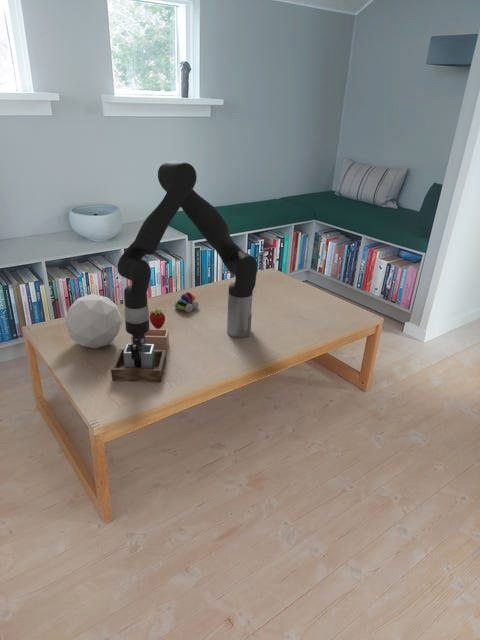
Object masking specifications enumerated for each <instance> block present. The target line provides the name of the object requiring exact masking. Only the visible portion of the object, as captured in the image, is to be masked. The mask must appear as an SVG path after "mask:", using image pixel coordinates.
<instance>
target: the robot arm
mask: <svg viewBox="0 0 480 640" xmlns="http://www.w3.org/2000/svg"><path fill="white" fill-rule="evenodd" d="M197 176H198V175H197V171H196V169H195V167H194V166H193V165H191V163H188V162H184V161H166V162H163V163H162V164H161V165H160V166H159V168H158V169H157V179H158V182H159V184H160V186H161V188H162V189H163V190H164V191H165V192H166V194H165V195H164V197H163V198H162V200H161V201H160V203H159V204H158V205H157V206H156V207H155V208H154V210H152V211H151V212H150V214H149V215H148V216H147V217H146V218H145V219H144V221H143V223H142V225H141V227H140V228H139V231H138V232H137V234H136V236H135V239H134V241H133V242H132V243H130V245H129V246H128V247H127V249H125V251H124V252H123V253H122V255H121V256H120V257H119V259H118V263H117V268H116V269H117V272H118V275H120V277H122V278H124V279H127V280H129V281H131V284H130V285H127V286H126V287H125V288H124V291H123V299H124V322H125V331H126V333H128V334H129V335H131V337H130V341H131V343H130V344H131V345H130V347H131V355H132V359H134V366H135V367H139V368H140V367H141V351H142V350H143V344H145V341H146V336H145V333H147V332H148V331H149V329H150V318H149V317H150V313H149V311H150V310H149V306H148V294H147V293H148V289H149V285H150V281H151V276H152V271H151V270H152V269H151V267H150V265H149V263H148V262H147V261H146V260H144V259H143V257H145V256H146V255H150V256H152V255H154V254H155V253H156V251H157V250H158V247H159V245H160V242H161V240H162V239H163V237H164V234H165V233H166V231H167V229H168V227H169V225H170V224H171V222H172V220H173V218H174V217H175V216H176V214H177V213H178V211H179V210H180V209H182V210H183V212H184V214H185V215H186V216H187V217H188V218H189V220H190V221H191V222H192V224H193V225H194V226H195V228H196V230H198V232H199V233H200V235H201V236H202V237H203V238H204V240H205V241H207V243H208V244H209V245H210V246H211V248H213V250H215V252H216V253H217V254H218V256H219V258H220V259H221V261H222V263H223V264H224V266H225V268H226V269H227V271H229V273H230V274H232V275H234V276H235V281H234V282H232V283H230V284H229V285H228V295H227V297H228V299H227V300H228V301H227V320H226V321H227V323H226V324H227V326H226V333H227V335H228V336H230V337H232V338H236V339H237V338H239V339H241V338H242V339H243V338H247V337H251V333H252V332H251V330H252V316H253V315H252V310H253V309H252V307H253V305H252V304H253V292H254V289H255V287H256V282H257V274H258V263H257V259H256V258H255V256H253V255H252V254H249V253H248V252H245V251H244V250H242V249H241V248H240V247H239V246H238V245H237V244H236V243H235V242H234V241H233V239H232V237H231V234H230V229H229V226H228V224H227V222H226V220H225V219H224V217H223V216H222V215H221V213H220V212H219V211H218V210H217V208H215V207H214V206H213V204H211V203H210V202H209V201H207V200H206V199H205V198H203V197H202V196H200V194H198V192H196V191H195V189H194V188H195V185H196V183H197V180H198V179H197ZM139 347H141V348H139Z"/></svg>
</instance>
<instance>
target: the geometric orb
mask: <svg viewBox="0 0 480 640" xmlns="http://www.w3.org/2000/svg"><path fill="white" fill-rule="evenodd" d="M64 323H65V326H66V329H67V333H68V336H69V338H70V339H72V341H74V342H76V344H78V345H79V346H81V347H86V348H91V349H99V348H102V347H106V346H108V345H111V343H113V341H114V340H115V339H116V337H117V336H118V335H119V332H120V329H121V327H122V323H123V318H122V316H121V313H120V310H119V307H118V306H117V304H116V303H114V302H113V301H112V300H111V299H110V298H109V297H106V296H104V295H103V296H102V295H99V294H94V293H90V294H88V295H85V296H82V297H78V298H77V299H76V300H75V301H73V303H72V304H71V306H69V307H68V309H67V313H66V316H65V321H64Z"/></svg>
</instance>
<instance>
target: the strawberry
mask: <svg viewBox="0 0 480 640" xmlns="http://www.w3.org/2000/svg"><path fill="white" fill-rule="evenodd" d="M162 311H163V310H161V309H160V310H158V308H155V310H154V311H152V310H151V311H150V312H149V322H150V323H151V324H152V326H153V327H154V329H162V327H163V326H164V324H165V322H166V317H165V316H166V315H165V314H164V312H162Z"/></svg>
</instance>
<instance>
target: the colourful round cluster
mask: <svg viewBox="0 0 480 640" xmlns="http://www.w3.org/2000/svg"><path fill="white" fill-rule="evenodd" d="M198 307H199V301H198V300H196V297H195V295H194V294H192V293H191V292H189V291H188V292H185V293H182V295H181V296H180V298H178V300H176V301H175V302H174V308H175V309H176V310H183V311H185V312H186V313H191V312H192V311H193V310H196V309H197V308H198Z"/></svg>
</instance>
